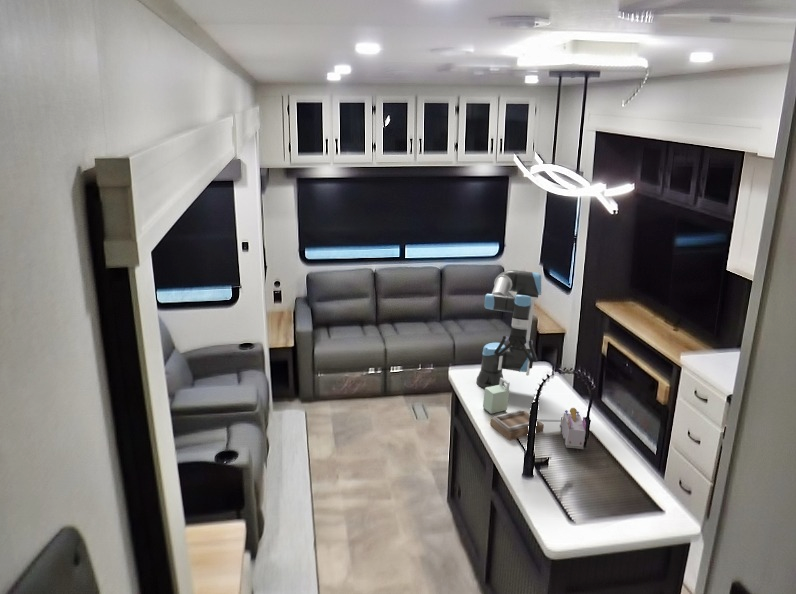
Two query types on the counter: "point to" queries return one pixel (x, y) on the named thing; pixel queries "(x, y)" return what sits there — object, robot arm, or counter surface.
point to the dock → (514, 424)
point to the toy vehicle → (573, 429)
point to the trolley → (496, 397)
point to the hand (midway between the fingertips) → (513, 372)
